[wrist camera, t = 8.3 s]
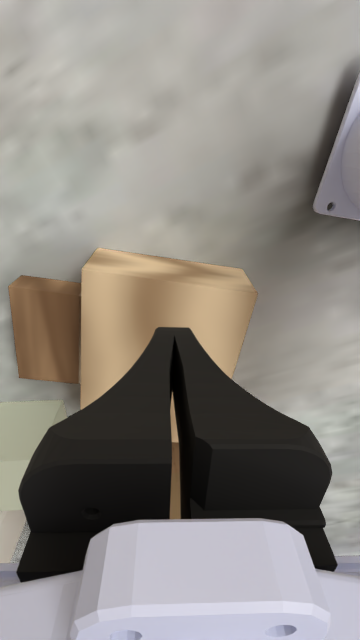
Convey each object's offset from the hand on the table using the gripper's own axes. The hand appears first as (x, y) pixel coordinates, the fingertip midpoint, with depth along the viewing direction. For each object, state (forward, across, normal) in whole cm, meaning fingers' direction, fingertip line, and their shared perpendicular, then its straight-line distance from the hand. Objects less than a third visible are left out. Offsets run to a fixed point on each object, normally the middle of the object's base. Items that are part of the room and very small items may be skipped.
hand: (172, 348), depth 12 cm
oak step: (+10, +1, +6) cm, 12 cm away
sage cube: (+10, +12, +16) cm, 22 cm away
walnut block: (+9, +6, +5) cm, 12 cm away
